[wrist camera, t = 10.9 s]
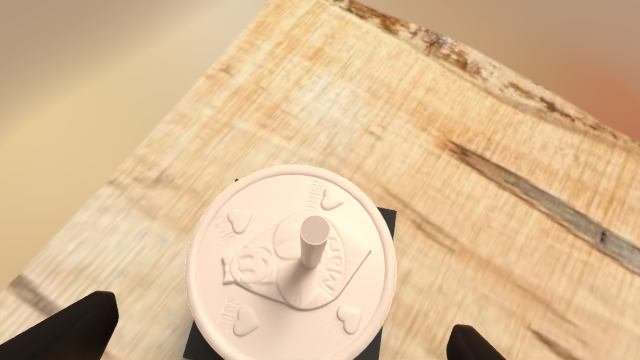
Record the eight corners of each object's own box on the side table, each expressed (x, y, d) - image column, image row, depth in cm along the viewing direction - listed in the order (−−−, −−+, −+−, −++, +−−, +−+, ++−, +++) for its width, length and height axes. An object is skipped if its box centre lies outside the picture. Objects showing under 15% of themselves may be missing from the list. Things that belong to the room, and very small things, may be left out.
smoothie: (364, 335, 19) (510, 409, 5) (243, 354, 18) (78, 488, 5) (345, 218, 21) (416, 68, 8) (236, 232, 20) (107, 96, 7)
